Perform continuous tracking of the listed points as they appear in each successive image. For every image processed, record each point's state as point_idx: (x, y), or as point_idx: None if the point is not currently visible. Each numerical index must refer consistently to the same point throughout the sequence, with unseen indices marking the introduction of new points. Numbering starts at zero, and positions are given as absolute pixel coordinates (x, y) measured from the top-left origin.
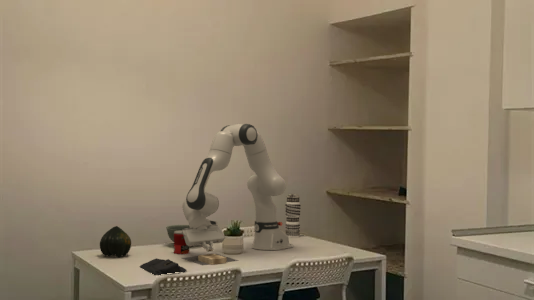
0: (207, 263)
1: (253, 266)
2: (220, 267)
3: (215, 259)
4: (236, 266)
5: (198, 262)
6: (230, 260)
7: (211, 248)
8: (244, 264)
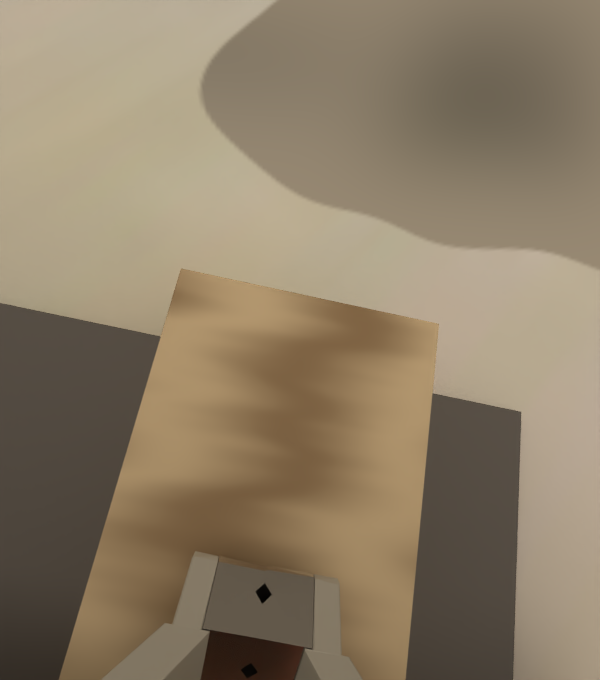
0: None
1: (92, 28)
2: (388, 223)
3: (373, 314)
4: (220, 139)
5: (460, 610)
6: (12, 375)
7: (243, 571)
8: (67, 141)
